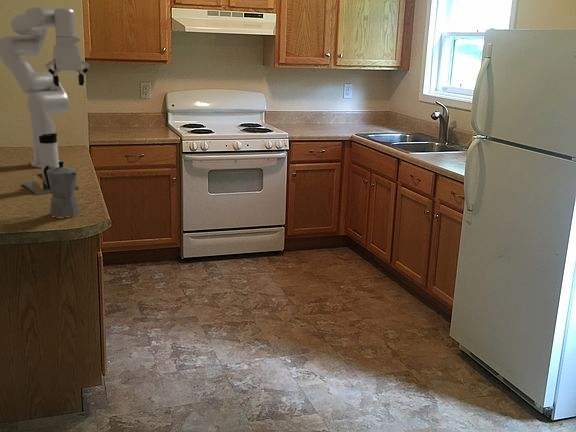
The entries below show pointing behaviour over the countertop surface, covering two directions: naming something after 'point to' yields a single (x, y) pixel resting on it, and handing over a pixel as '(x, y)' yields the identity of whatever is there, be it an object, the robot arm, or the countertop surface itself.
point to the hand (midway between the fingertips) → (69, 85)
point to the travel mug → (48, 153)
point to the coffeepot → (62, 190)
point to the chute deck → (38, 185)
